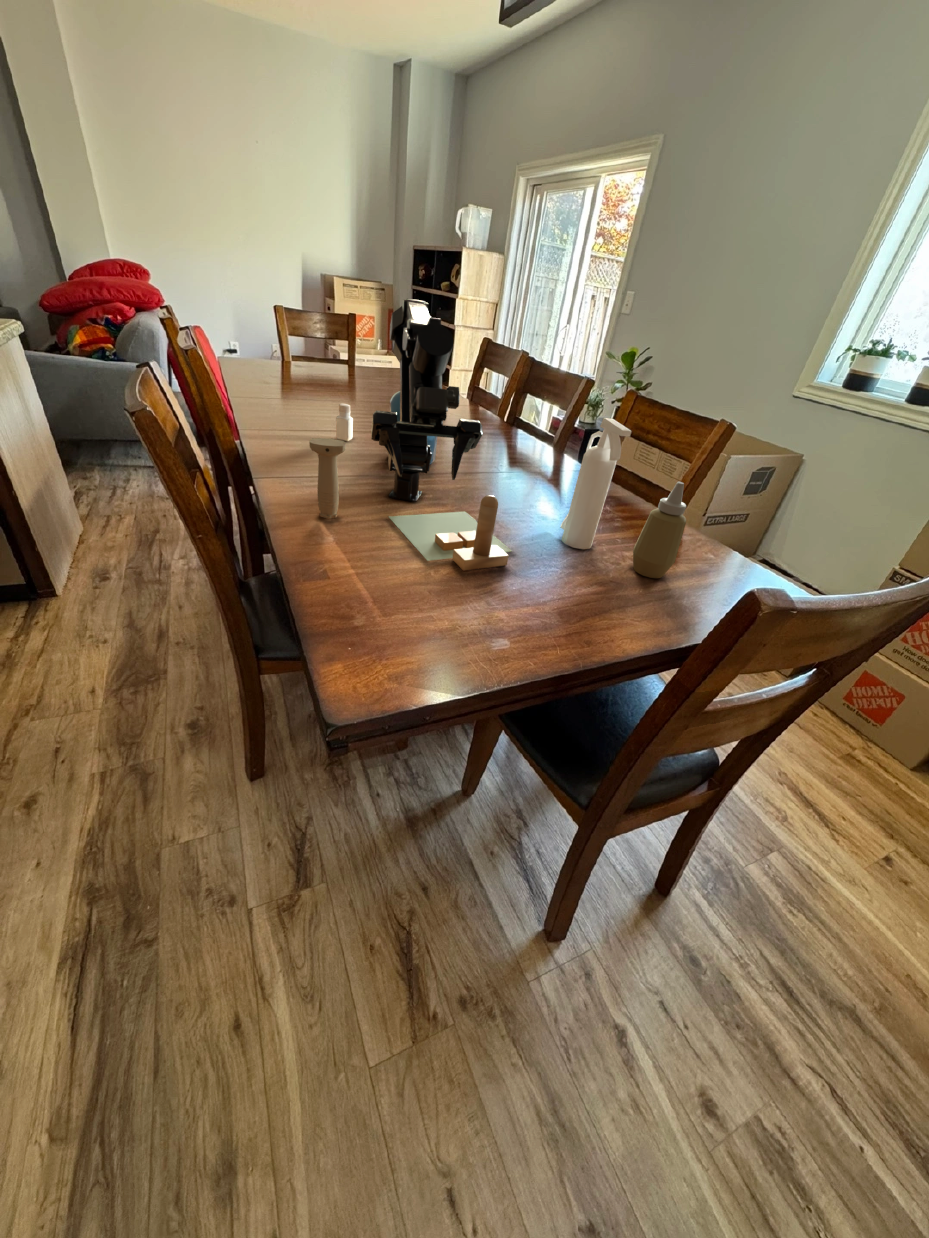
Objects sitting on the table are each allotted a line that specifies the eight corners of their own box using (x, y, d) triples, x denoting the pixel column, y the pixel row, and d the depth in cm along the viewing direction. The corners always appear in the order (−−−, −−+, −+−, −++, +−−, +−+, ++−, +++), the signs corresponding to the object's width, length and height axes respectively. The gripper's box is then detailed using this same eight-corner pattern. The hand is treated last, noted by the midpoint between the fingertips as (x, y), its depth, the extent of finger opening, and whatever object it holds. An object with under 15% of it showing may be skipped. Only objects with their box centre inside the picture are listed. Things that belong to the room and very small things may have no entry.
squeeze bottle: (663, 586, 96) (699, 494, 86) (622, 571, 99) (652, 481, 89) (672, 572, 102) (707, 484, 92) (633, 558, 105) (663, 472, 95)
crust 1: (434, 541, 97) (435, 533, 96) (453, 539, 99) (454, 532, 98) (443, 550, 94) (444, 543, 93) (462, 548, 96) (463, 541, 95)
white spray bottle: (576, 529, 114) (608, 412, 101) (602, 554, 105) (641, 428, 91) (549, 529, 112) (577, 409, 99) (573, 554, 103) (609, 426, 89)
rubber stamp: (462, 575, 89) (473, 501, 82) (451, 564, 92) (461, 492, 85) (506, 570, 93) (520, 499, 86) (494, 559, 96) (506, 489, 89)
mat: (387, 520, 105) (387, 516, 104) (464, 514, 113) (465, 511, 112) (426, 564, 91) (427, 560, 90) (511, 555, 99) (512, 551, 98)
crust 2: (456, 539, 99) (457, 531, 98) (474, 537, 101) (475, 530, 100) (466, 548, 96) (467, 540, 96) (484, 546, 98) (485, 539, 97)
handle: (345, 524, 100) (345, 447, 92) (310, 522, 99) (308, 444, 91) (345, 515, 104) (345, 439, 96) (312, 513, 103) (310, 436, 94)
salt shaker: (335, 439, 148) (335, 405, 143) (340, 436, 152) (340, 402, 146) (348, 442, 148) (348, 407, 143) (353, 438, 151) (353, 405, 146)
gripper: (374, 357, 79) (375, 451, 77) (489, 371, 84) (493, 461, 82) (370, 396, 90) (371, 480, 88) (473, 407, 95) (475, 487, 93)
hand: (427, 477), depth 87 cm, fingers open, 9 cm apart
